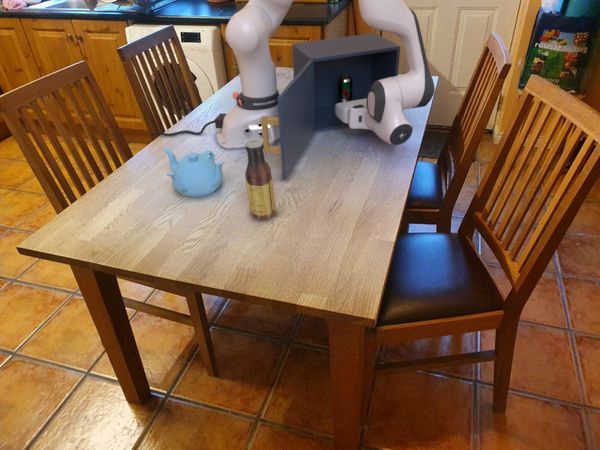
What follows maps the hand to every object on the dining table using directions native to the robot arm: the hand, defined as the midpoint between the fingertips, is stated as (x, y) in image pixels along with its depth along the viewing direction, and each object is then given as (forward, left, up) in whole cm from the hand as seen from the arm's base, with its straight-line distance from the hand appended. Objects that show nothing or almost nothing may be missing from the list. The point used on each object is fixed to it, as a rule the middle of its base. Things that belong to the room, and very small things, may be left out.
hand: (357, 98), depth 150 cm
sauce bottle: (-43, -39, -9) cm, 59 cm away
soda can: (0, +10, -8) cm, 13 cm away
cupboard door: (-27, -12, -9) cm, 31 cm away
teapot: (-57, -21, -9) cm, 62 cm away
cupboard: (-1, +9, -9) cm, 12 cm away
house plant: (-26, +38, -9) cm, 47 cm away
